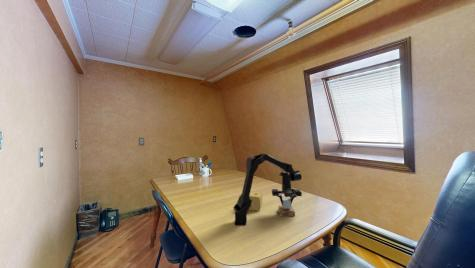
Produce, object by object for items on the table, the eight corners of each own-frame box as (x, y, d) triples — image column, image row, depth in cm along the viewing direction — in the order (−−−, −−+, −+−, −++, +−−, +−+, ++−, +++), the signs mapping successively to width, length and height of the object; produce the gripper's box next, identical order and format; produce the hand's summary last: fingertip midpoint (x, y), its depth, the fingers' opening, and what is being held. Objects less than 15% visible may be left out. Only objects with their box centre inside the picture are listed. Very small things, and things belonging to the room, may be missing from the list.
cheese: (249, 203, 144) (249, 190, 143) (263, 205, 140) (263, 192, 140) (245, 209, 134) (244, 195, 133) (260, 211, 130) (260, 197, 130)
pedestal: (280, 215, 123) (280, 211, 123) (278, 209, 132) (278, 205, 132) (294, 216, 123) (294, 211, 123) (291, 210, 132) (291, 205, 132)
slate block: (283, 208, 125) (283, 201, 125) (281, 205, 130) (281, 198, 130) (290, 208, 125) (291, 201, 125) (289, 205, 130) (289, 198, 130)
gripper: (273, 185, 119) (273, 210, 120) (304, 185, 118) (304, 210, 119) (271, 180, 130) (271, 203, 131) (299, 180, 129) (299, 203, 130)
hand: (286, 205), depth 127 cm, fingers closed on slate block, 5 cm apart
